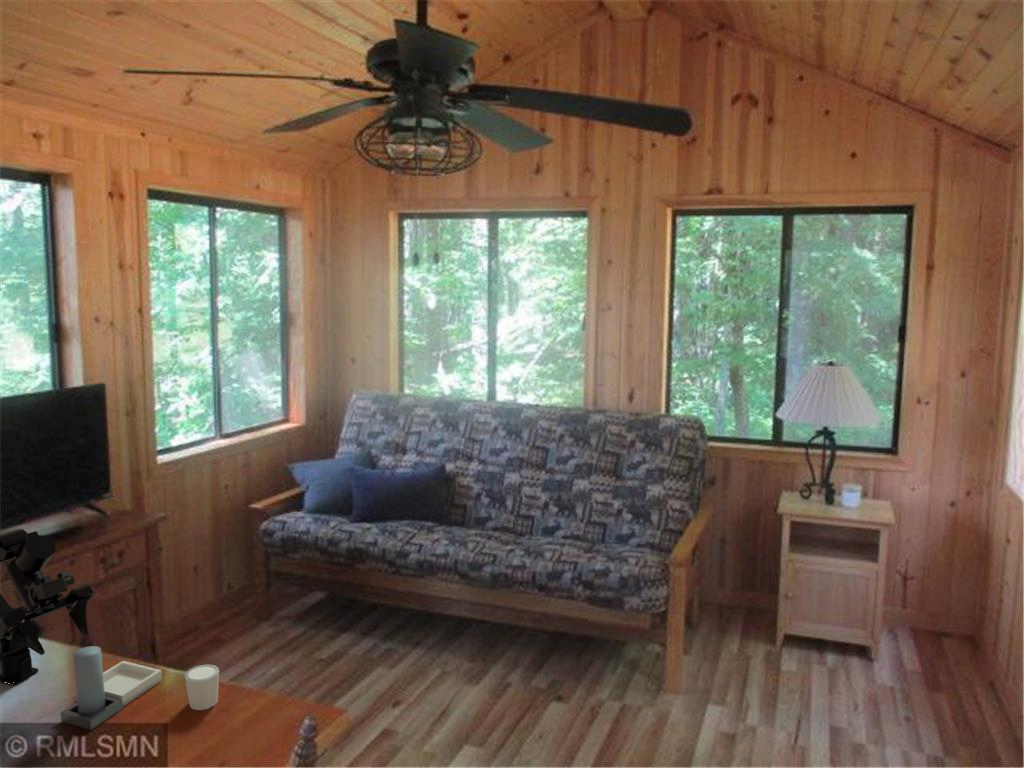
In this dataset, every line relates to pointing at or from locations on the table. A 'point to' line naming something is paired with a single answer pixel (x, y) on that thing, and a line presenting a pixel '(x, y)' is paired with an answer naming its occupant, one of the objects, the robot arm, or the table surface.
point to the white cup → (202, 686)
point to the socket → (90, 723)
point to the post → (89, 680)
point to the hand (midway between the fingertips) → (65, 644)
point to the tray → (129, 680)
